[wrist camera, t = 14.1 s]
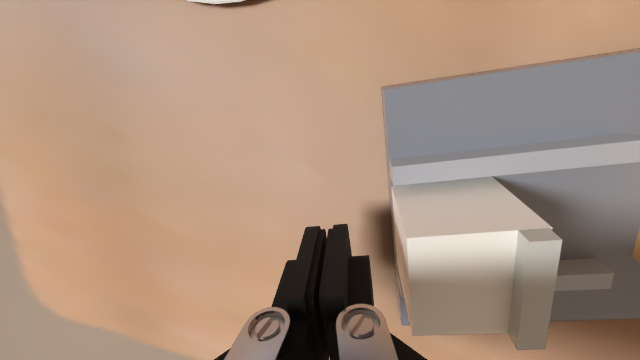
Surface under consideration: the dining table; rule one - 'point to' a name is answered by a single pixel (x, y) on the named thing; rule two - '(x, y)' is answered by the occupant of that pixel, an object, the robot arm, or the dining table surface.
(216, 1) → the pudding
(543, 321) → the cream square block
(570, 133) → the base
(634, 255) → the orange hollow cube
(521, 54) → the dining table surface
